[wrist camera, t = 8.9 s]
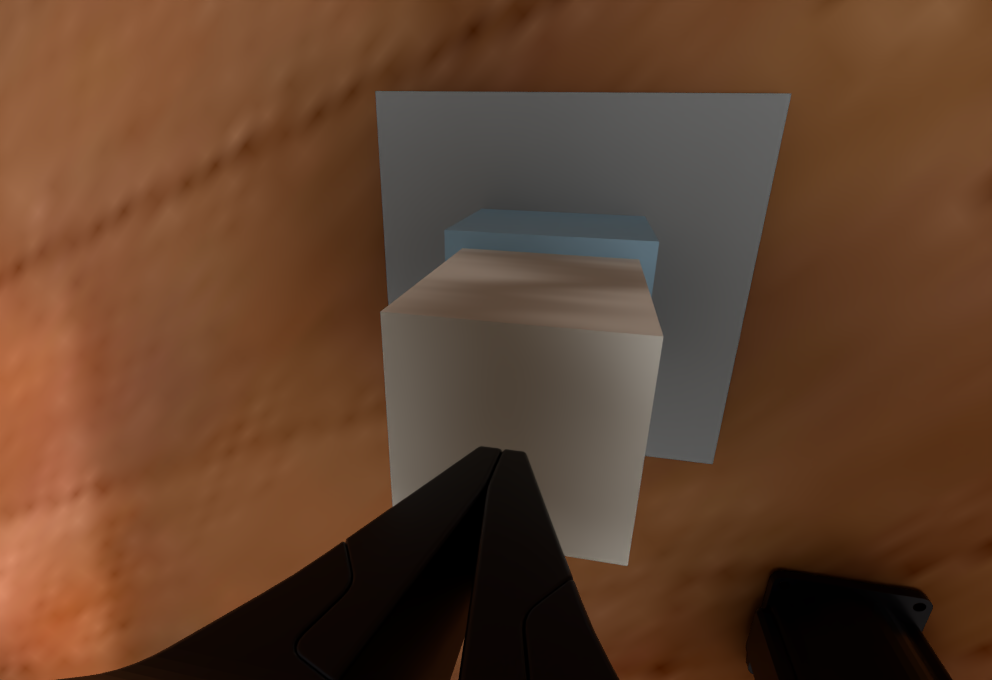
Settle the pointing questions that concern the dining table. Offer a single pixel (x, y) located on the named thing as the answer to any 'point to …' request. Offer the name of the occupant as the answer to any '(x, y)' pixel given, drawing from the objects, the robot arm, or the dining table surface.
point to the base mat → (602, 207)
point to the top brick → (529, 382)
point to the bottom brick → (558, 235)
